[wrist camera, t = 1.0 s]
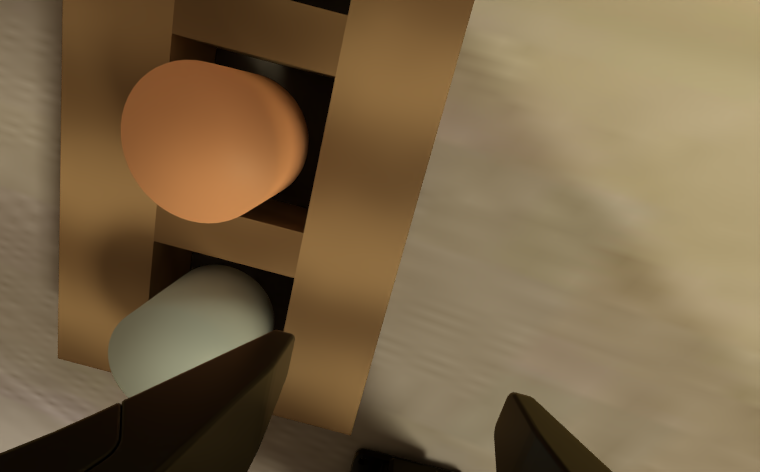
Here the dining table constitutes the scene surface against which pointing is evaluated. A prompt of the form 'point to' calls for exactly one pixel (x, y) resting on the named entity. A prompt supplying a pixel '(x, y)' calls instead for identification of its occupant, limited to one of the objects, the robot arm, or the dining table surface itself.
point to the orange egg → (211, 139)
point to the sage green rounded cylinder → (188, 326)
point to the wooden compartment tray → (271, 218)
